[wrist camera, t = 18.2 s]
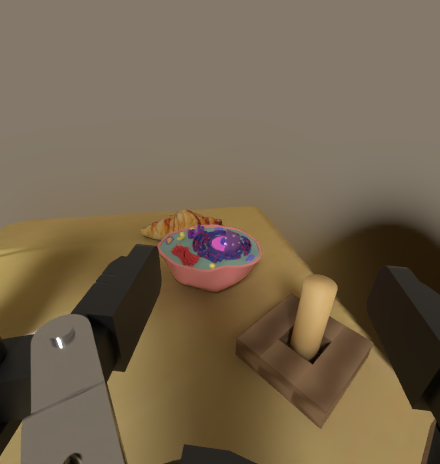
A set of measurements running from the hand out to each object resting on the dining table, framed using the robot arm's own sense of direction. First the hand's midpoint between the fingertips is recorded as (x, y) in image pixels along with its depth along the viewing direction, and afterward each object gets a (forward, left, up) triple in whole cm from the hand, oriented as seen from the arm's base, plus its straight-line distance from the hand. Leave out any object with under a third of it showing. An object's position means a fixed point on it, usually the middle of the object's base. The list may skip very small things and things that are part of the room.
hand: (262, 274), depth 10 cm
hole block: (-6, +22, -30) cm, 37 cm away
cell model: (-29, +24, -30) cm, 48 cm away
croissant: (-48, +31, -30) cm, 64 cm away
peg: (-6, +21, -30) cm, 37 cm away
